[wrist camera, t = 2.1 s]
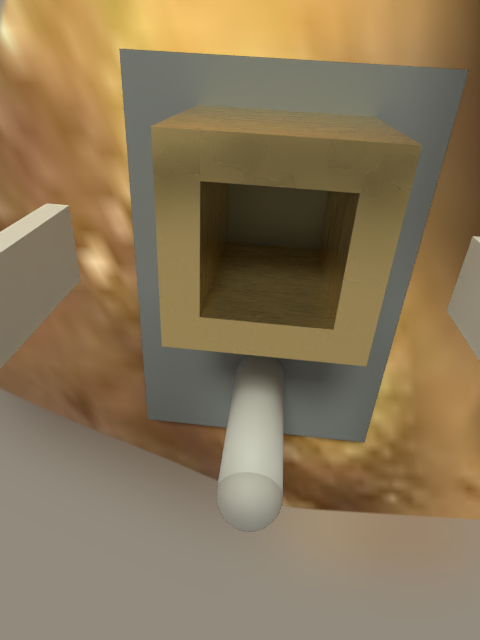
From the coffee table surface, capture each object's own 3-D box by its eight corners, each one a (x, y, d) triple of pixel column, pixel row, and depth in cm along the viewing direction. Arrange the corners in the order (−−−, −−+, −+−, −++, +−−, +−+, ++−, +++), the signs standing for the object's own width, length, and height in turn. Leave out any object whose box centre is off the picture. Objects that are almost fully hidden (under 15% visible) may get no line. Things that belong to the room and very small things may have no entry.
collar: (374, 116, 19) (422, 145, 13) (343, 278, 24) (366, 366, 17) (198, 104, 20) (150, 125, 13) (197, 265, 24) (161, 346, 17)
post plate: (456, 69, 19) (646, 75, 9) (360, 426, 31) (398, 608, 20) (130, 49, 20) (-32, 34, 10) (153, 404, 32) (88, 569, 21)
